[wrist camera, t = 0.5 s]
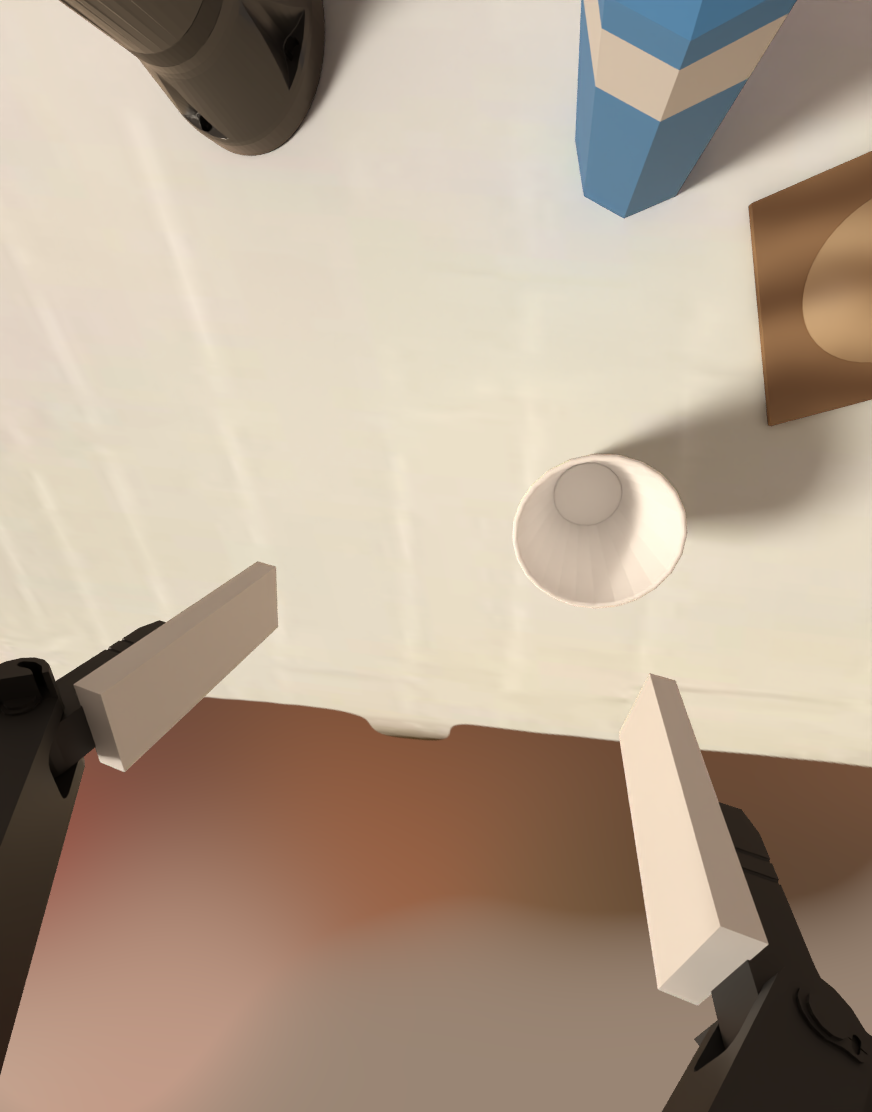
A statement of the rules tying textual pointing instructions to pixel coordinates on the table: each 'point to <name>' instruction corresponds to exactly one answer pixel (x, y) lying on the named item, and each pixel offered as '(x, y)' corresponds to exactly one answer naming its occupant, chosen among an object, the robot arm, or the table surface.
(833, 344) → the plate
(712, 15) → the water bottle
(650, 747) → the robot arm
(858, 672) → the table surface
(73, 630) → the table surface
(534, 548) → the cup
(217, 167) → the table surface
